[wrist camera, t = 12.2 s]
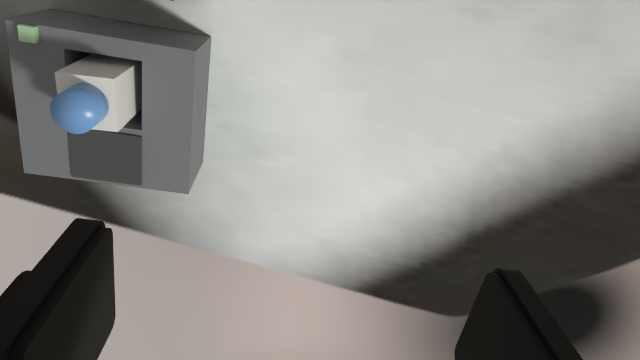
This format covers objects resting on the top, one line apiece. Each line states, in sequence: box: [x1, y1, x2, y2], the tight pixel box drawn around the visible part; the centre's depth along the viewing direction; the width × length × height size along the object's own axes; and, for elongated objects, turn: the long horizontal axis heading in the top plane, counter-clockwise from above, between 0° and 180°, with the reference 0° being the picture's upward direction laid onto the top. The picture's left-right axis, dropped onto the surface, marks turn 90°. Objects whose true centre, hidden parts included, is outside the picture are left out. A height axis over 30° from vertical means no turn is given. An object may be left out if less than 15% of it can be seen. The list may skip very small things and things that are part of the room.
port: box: [5, 9, 211, 194], centre depth 34 cm, size 12×11×6 cm
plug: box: [50, 53, 142, 134], centre depth 31 cm, size 4×4×10 cm
